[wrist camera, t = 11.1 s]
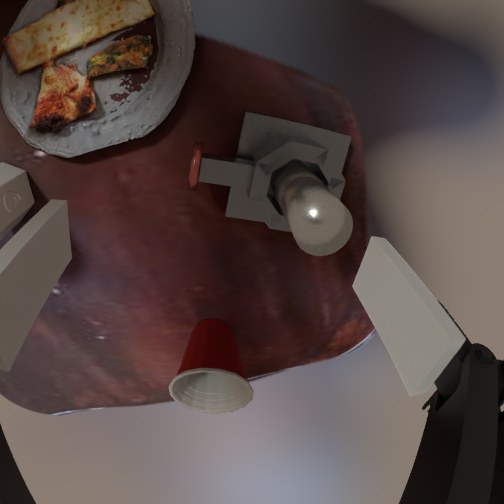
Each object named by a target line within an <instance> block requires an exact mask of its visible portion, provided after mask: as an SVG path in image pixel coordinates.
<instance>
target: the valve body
mask: <svg viewBox="0 0 504 504" xmlns="http://www.w3.org/2000/svg"><path fill="white" fill-rule="evenodd" d="M351 138H352V137H351V136H349V135H347V134H344V133H340V132H337V131H333V130H329V129H325V128H322V127H318V126H314V125H310V124H306V123H301V122H297V121H293V120H288V119H284V118H279V117H275V116H270V115H265V114H260V113H254V112H249V111H244V115H243V120H242V125H241V130H240V135H239V140H238V145H237V150H236V155H235V158H234V157H228V156H222V155H215V154H209V153H203V148H204V142H200V141H196V142H195V146H194V150H193V155H192V160H191V166H190V173H189V181H188V190H191V191H196V190H197V185H198V182H205V183H212V184H219V185H226V186H229V192H228V197H227V202H226V208H225V217H232V218H239V219H246V220H252V221H259V222H265V223H266V225H267V226H268V227H269V229H275V230H281V231H288V232H292V231H291V229H290V227H289V225H288V222H287V220H286V218H285V216H284V214H283V211H282V209H281V207H280V205H279V203H278V201H277V198H276V196H275V194H274V192H273V190H272V188H271V186H270V179H271V174H272V172H273V171H275V170H277V169H278V168H280V167H281V166H283V165H284V164H286V163H288V162H289V161H291V160H292V159H297V160H300V161H302V162H303V163H304V164H305V165H306V166H307V167H308V168H309V169H310V170H311V171H312V172H313V173H314V174H315V175H316V176H317V177H318V178H319V179H320V180H321V182H322V183H323V184H324V185H325V186H326V187H327V188H328V189H329V190H330V191H331V192H332V193H333V194H334V195H335V196H336V197H337V198H338V199H339V200H340V198H341V195H342V192H343V188H344V185H345V182H346V181H345V179H344V177H343V175H342V170H343V166H344V163H345V159H346V156H347V152H348V148H349V145H350V141H351ZM202 155H203V156H202ZM200 167H201V168H200ZM199 173H200V174H199ZM198 179H199V181H198Z"/></svg>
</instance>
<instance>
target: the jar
mask: <svg viewBox="0 0 504 504" xmlns="http://www.w3.org/2000/svg"><path fill="white" fill-rule="evenodd" d="M33 204H34V198H33V195H32V191H31V188H30V184H29V180H28V176H27V172H26V171H25V170H22V169H20V168H17V167H14V166H12V165H9V164H6V163H4V162H2V163H0V240H1V239H2V238H3V237H4V236H5V235H6V234H7V233H8V232H9V231H11V230H12V229H13V228H14V227H15V226H16V225H17V224H18V223H19V222H20V221H21V220H22V219H23V217H24V216H25V215H26V213H27V212H28V211H29V209H30V208H31V207H32V205H33Z"/></svg>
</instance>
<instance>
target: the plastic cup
mask: <svg viewBox="0 0 504 504" xmlns="http://www.w3.org/2000/svg"><path fill="white" fill-rule="evenodd" d="M169 391H170V395H171V396H172V397H173V398H174V399H175V400H176V401H177V402H178V403H179V404H181V405H183V406H185V407H187V408H189V409H191V410H196V411H199V412H204V413H225V412H232V411H235V410H238V409H240V408H243V407H245V406H246V405H247V404H248V403H249V402H250V401H251V400H252V397H253V389H252V387H251V386H250V384H249V382H248V380H247V378H246V375H245V372H244V370H243V367H242V363H241V360H240V357H239V353H238V350H237V346H236V344H235V342H234V338H233V335H232V332H231V330H230V328H229V326H228V325H227V324H226V323H224V322H223V321H220V320H217V319H206V320H203V321H201V322H199V323H198V324H197V325H196V326H195V328H194V330H193V332H192V335H191V338H190V341H189V343H188V345H187V348H186V351H185V354H184V357H183V360H182V363H181V366H180V369H179V371H178V373H177V375H176V376H175V377H174V379H173V380H172V382H171V384H170V385H169Z"/></svg>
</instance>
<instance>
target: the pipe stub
mask: <svg viewBox="0 0 504 504" xmlns="http://www.w3.org/2000/svg"><path fill="white" fill-rule="evenodd" d="M270 186H271V188H272V190H273V192H274V194H275V196H276V198H277V201H278V203H279V205H280V207H281V209H282V211H283V214H284V216H285V218H286V220H287V222H288V225H289V227H290V229H291V231H292V233H293V236H294V238H295V240H296V242H297V244H298V246H299V247H300V248H301V249H302V250H303V251H305V252H306V253H308V254H311V255H315V256H325V255H329V254H332V253H334V252H336V251H338V250H339V249H341V248H342V247H343V246H344V245H345V244H346V242H347V241H348V240H349V238H350V236H351V233H352V229H353V220H352V216H351V214H350V212H349V210H348V209H347V208H346V207H345V206H344V205H343V204H342V202H341V201H340V200H339V199H338V198H337V197H336V196H335V195H334V194H333V193H332V192H331V191H330V190H329V189H328V188H327V187H326V186H325V185H324V184H323V183H322V182H321V180H320V179H319V178H318V177H317V176H316V175H315V174H314V173H313V172H312V171H311V170H310V169H309V168H308V167H307V166H306V165H305V164H304V163H303V162H302V161H300V160H297V159H292V160H291V161H289V162H288V163H286V164H284V165H283V166H281V167H280V168H278V169H277V170H275V171H273V172H272V174H271V179H270Z"/></svg>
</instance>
